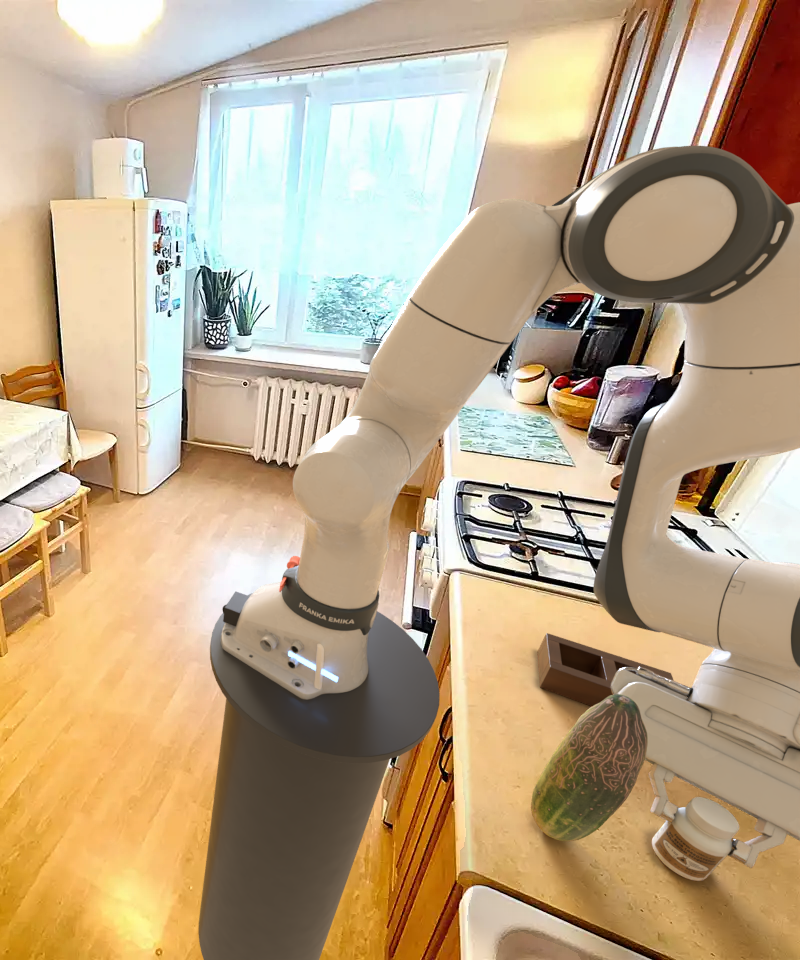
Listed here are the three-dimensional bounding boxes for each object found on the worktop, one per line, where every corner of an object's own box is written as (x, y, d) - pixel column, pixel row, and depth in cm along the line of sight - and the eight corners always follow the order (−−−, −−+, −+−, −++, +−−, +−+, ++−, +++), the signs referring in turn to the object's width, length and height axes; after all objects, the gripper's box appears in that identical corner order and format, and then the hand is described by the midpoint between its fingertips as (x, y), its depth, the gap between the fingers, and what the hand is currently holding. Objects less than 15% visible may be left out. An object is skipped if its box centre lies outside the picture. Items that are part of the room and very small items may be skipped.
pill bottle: (646, 856, 54) (682, 811, 51) (654, 827, 57) (688, 783, 53) (703, 893, 51) (745, 848, 48) (708, 860, 54) (748, 816, 50)
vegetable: (521, 787, 60) (590, 662, 51) (586, 819, 57) (672, 691, 48) (519, 833, 56) (595, 704, 47) (591, 869, 53) (687, 739, 44)
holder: (672, 735, 67) (687, 714, 65) (539, 687, 74) (550, 667, 72) (657, 693, 73) (671, 672, 72) (536, 652, 80) (546, 632, 78)
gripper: (628, 654, 57) (577, 768, 56) (928, 782, 45) (875, 936, 43) (616, 662, 62) (569, 767, 60) (884, 780, 50) (835, 918, 48)
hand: (698, 839), depth 52 cm, fingers closed on pill bottle, 4 cm apart
